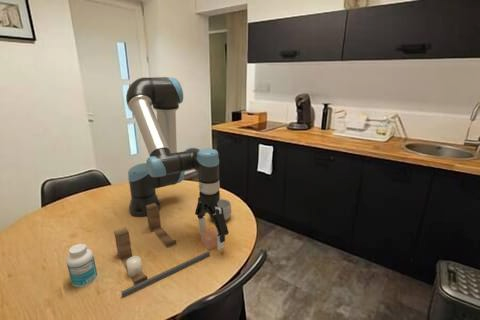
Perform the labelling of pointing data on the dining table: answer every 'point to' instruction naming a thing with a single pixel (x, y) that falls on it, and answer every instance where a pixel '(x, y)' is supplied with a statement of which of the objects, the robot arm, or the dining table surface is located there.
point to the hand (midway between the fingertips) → (211, 239)
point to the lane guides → (164, 274)
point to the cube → (209, 238)
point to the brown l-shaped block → (158, 225)
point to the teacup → (225, 207)
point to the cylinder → (134, 266)
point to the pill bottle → (81, 265)
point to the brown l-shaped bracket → (126, 251)
